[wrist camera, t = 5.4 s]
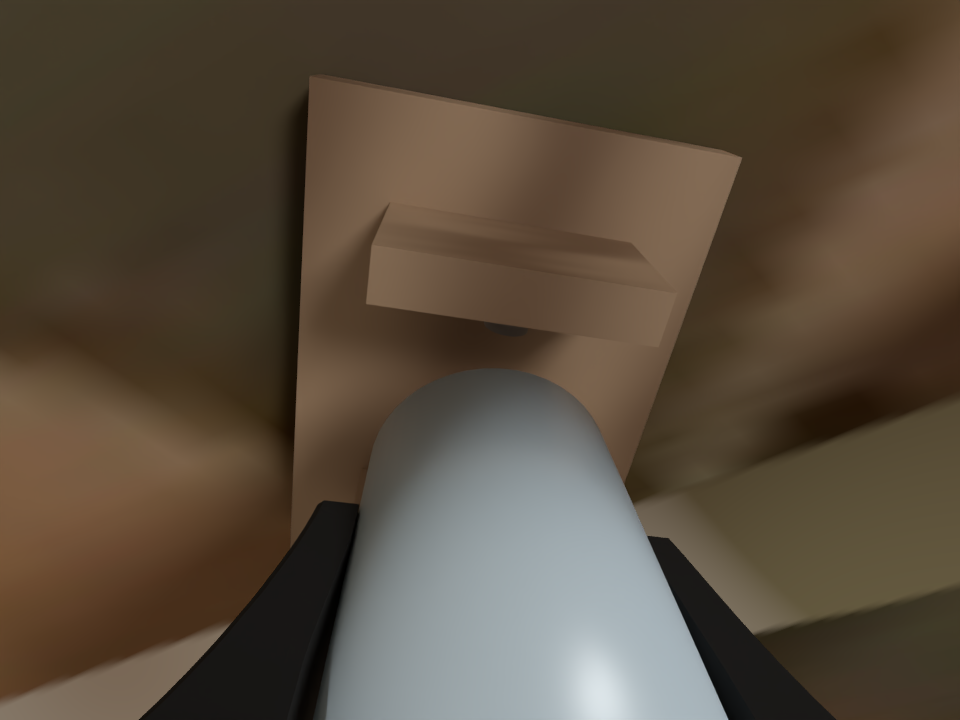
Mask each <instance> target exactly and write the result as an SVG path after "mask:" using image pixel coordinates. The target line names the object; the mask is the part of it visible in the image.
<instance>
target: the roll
mask: <svg viewBox="0 0 960 720" xmlns="http://www.w3.org/2000/svg"><path fill="white" fill-rule="evenodd" d="M313 720H728V718H727V716H726V713H725V711H724V709H723V706H722V704H721V702H720V700H719V697H718V695H717V693H716V691H715V688H714V686H713V684H712V682H711V679H710V677H709V675H708V673H707V670H706V668H705V666H704V664H703V661H702V659H701V657H700V655H699V652H698V650H697V648H696V646H695V643H694V641H693V639H692V637H691V634H690V632H689V630H688V628H687V625H686V623H685V621H684V619H683V616H682V614H681V612H680V610H679V607H678V605H677V603H676V601H675V598H674V596H673V594H672V592H671V589H670V587H669V585H668V583H667V580H666V578H665V576H664V574H663V571H662V569H661V567H660V565H659V562H658V560H657V558H656V556H655V553H654V551H653V549H652V547H651V544H650V542H649V540H648V538H647V535H646V534H645V531H644V529H643V527H642V524H641V522H640V520H639V518H638V515H637V513H636V511H635V508H634V506H633V504H632V502H631V499H630V497H629V495H628V493H627V490H626V488H625V486H624V484H623V481H622V479H621V477H620V475H619V472H618V470H617V468H616V466H615V463H614V461H613V459H612V457H611V454H610V452H609V450H608V448H607V445H606V443H605V441H604V438H603V436H602V434H601V432H600V429H599V428H598V426H597V424H596V422H595V420H594V419H593V417H592V416H591V414H590V413H589V412H588V410H587V409H586V408H585V407H584V405H583V404H581V403H580V402H579V401H578V400H577V399H576V398H575V397H574V396H573V395H572V394H570V393H569V392H567V391H566V390H565V389H563V388H562V387H560V386H558V385H557V384H555V383H553V382H551V381H549V380H547V379H544V378H542V377H539V376H536V375H534V374H530V373H526V372H522V371H518V370H510V369H501V368H483V369H475V370H467V371H463V372H459V373H455V374H451V375H448V376H445V377H443V378H440V379H437V380H435V381H433V382H431V383H429V384H427V385H425V386H423V387H422V388H420V389H418V390H417V391H416V392H414V393H413V394H411V395H410V396H408V397H407V398H406V399H405V400H404V401H403V402H402V403H401V404H399V405H398V406H397V407H396V408H395V409H394V411H393V412H392V413H391V414H390V416H389V417H388V418H387V419H386V421H385V422H384V424H383V426H382V427H381V429H380V431H379V433H378V435H377V438H376V440H375V442H374V445H373V449H372V453H371V457H370V461H369V466H368V471H367V475H366V480H365V484H364V489H363V493H362V498H361V502H360V507H359V512H358V518H357V522H356V527H355V531H354V536H353V541H352V545H351V550H350V554H349V559H348V563H347V567H346V572H345V576H344V580H343V585H342V589H341V594H340V598H339V603H338V608H337V612H336V617H335V621H334V626H333V630H332V635H331V639H330V644H329V649H328V653H327V658H326V662H325V667H324V671H323V676H322V681H321V685H320V690H319V694H318V699H317V703H316V708H315V713H314V717H313Z"/></svg>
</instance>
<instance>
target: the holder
mask: <svg viewBox="0 0 960 720" xmlns="http://www.w3.org/2000/svg"><path fill="white" fill-rule="evenodd" d="M741 159H742V157H739V156H736V155H734V154H731V153H728V152H726V151H723V150H719V149H713V148H708V147H703V146H698V145H692V144H687V143H682V142H677V141H671V140H666V139H661V138H655V137H650V136H645V135H640V134H634V133H629V132H624V131H618V130H613V129H608V128H603V127H597V126H592V125H587V124H582V123H576V122H571V121H566V120H560V119H555V118H550V117H545V116H539V115H534V114H529V113H523V112H518V111H513V110H508V109H502V108H497V107H492V106H487V105H481V104H476V103H471V102H465V101H460V100H455V99H450V98H444V97H439V96H434V95H428V94H423V93H418V92H413V91H407V90H402V89H397V88H392V87H386V86H381V85H376V84H370V83H365V82H360V81H355V80H349V79H344V78H339V77H334V76H328V75H323V74H319V75H313V76H310V81H309V105H308V129H307V153H306V177H305V201H304V225H303V249H302V273H301V297H300V321H299V345H298V369H297V393H296V418H295V442H294V466H293V490H292V514H291V538H290V548H291V547H292V545H293V544H294V542H295V541H296V539H297V538H298V536H299V535H300V533H301V532H302V530H303V529H304V527H305V526H306V524H307V522H308V521H309V519H310V517H311V515H312V514H313V512H314V510H315V508H316V506H317V505H318V504H319V503H321V502H322V501H324V500H327V501H336V502H345V503H354V504H359V507H360V502H361V498H362V493H363V489H364V484H365V480H366V475H367V471H368V466H369V461H370V457H371V453H372V449H373V445H374V442H375V440H376V438H377V435H378V433H379V431H380V429H381V427H382V426H383V424H384V422H385V421H386V419H387V418H388V417H389V416H390V414H391V413H392V412H393V411H394V409H395V408H396V407H397V406H398V405H399V404H401V403H402V402H403V401H404V400H405V399H406V398H407V397H408V396H410V395H411V394H413V393H414V392H416V391H417V390H418V389H420V388H422V387H423V386H425V385H427V384H429V383H431V382H433V381H435V380H437V379H440V378H443V377H445V376H448V375H451V374H455V373H459V372H463V371H467V370H475V369H483V368H501V369H510V370H518V371H522V372H526V373H530V374H534V375H536V376H539V377H542V378H544V379H547V380H549V381H551V382H553V383H555V384H557V385H558V386H560V387H562V388H563V389H565V390H566V391H567V392H569V393H570V394H572V395H573V396H574V397H575V398H576V399H577V400H578V401H579V402H580V403H581V404H583V405H584V407H585V408H586V409H587V410H588V412H589V413H590V414H591V416H592V417H593V419H594V420H595V422H596V424H597V426H598V428H599V429H600V432H601V434H602V436H603V438H604V441H605V443H606V445H607V448H608V450H609V452H610V454H611V457H612V459H613V461H614V463H615V466H616V468H617V470H618V472H619V475H620V477H621V479H622V481H623V484H624V483H625V480H626V477H627V474H628V472H629V469H630V466H631V463H632V461H633V458H634V455H635V452H636V450H637V447H638V444H639V441H640V438H641V436H642V433H643V430H644V427H645V425H646V422H647V419H648V416H649V414H650V411H651V408H652V405H653V403H654V400H655V397H656V394H657V392H658V389H659V386H660V383H661V380H662V378H663V375H664V372H665V369H666V367H667V364H668V361H669V358H670V356H671V353H672V350H673V347H674V345H675V342H676V339H677V336H678V333H679V331H680V328H681V325H682V322H683V320H684V317H685V314H686V311H687V309H688V306H689V303H690V300H691V298H692V295H693V292H694V289H695V287H696V284H697V281H698V278H699V275H700V273H701V270H702V267H703V264H704V262H705V259H706V256H707V253H708V251H709V248H710V245H711V242H712V240H713V237H714V234H715V231H716V229H717V226H718V223H719V220H720V217H721V215H722V212H723V209H724V206H725V204H726V201H727V198H728V195H729V193H730V190H731V187H732V184H733V182H734V179H735V176H736V173H737V170H738V168H739V165H740V162H741Z"/></svg>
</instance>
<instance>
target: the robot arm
mask: <svg viewBox="0 0 960 720" xmlns="http://www.w3.org/2000/svg"><path fill="white" fill-rule="evenodd" d="M358 512H359V504H354V503H345V502H336V501H327V500H324V501H322V502H321V503H319V504H318V505H317V506H316V508H315V510H314V512H313V514H312V515H311V517H310V519H309V521H308V522H307V524H306V526H305V527H304V529H303V530H302V532H301V533H300V535H299V536H298V538H297V539H296V541H295V542H294V544H293V545H292V547H291V548H290V550H289V551H288V552H287V554H286V555H285V557H284V558H283V559H282V561H281V562H280V563H279V565H278V566H277V567H276V569H275V570H274V571H273V573H272V574H271V575H270V577H269V578H268V579H267V580H266V582H265V583H264V584H263V586H262V587H261V588H260V590H259V591H258V592H257V593H256V595H255V596H254V597H253V598H252V600H251V601H250V602H249V603H248V604H247V606H246V607H245V608H244V609H243V610H242V611H241V613H240V614H239V615H238V616H237V617H236V618H235V620H234V621H233V622H232V623H231V624H230V625H229V627H228V628H227V629H226V630H225V631H224V632H223V634H222V635H221V636H220V637H219V638H218V639H217V641H216V642H215V643H214V644H213V645H212V646H211V647H210V648H209V649H208V651H207V652H206V653H205V654H204V655H203V656H202V657H201V658H200V659H199V660H198V661H197V662H196V663H195V665H194V666H193V667H192V668H191V669H190V670H189V671H188V672H187V673H186V674H185V675H184V676H183V677H182V678H181V679H180V680H179V681H178V682H177V683H176V684H175V685H174V686H173V687H172V688H171V689H170V690H169V691H168V692H167V693H166V694H165V695H164V696H163V697H162V698H161V699H160V700H159V701H158V702H157V703H156V704H155V705H154V706H153V707H152V708H151V709H150V710H148V711H147V713H145V714H144V715H143V716H142V717H141V718H140V719H139V720H313V717H314V713H315V708H316V703H317V699H318V694H319V690H320V685H321V681H322V676H323V671H324V667H325V662H326V658H327V653H328V649H329V644H330V639H331V635H332V630H333V626H334V621H335V617H336V612H337V608H338V603H339V598H340V594H341V589H342V585H343V580H344V576H345V572H346V567H347V563H348V559H349V554H350V550H351V545H352V541H353V536H354V531H355V527H356V522H357V518H358ZM647 538H648V540H649V542H650V544H651V547H652V549H653V551H654V553H655V556H656V558H657V560H658V562H659V565H660V567H661V569H662V571H663V574H664V576H665V578H666V580H667V583H668V585H669V587H670V589H671V592H672V594H673V596H674V598H675V601H676V603H677V605H678V607H679V610H680V612H681V614H682V616H683V619H684V621H685V623H686V625H687V628H688V630H689V632H690V634H691V637H692V639H693V641H694V643H695V646H696V648H697V650H698V652H699V655H700V657H701V659H702V661H703V664H704V666H705V668H706V670H707V673H708V675H709V677H710V679H711V682H712V684H713V686H714V688H715V691H716V693H717V695H718V697H719V700H720V702H721V704H722V706H723V709H724V711H725V713H726V716H727V718H728V720H836V719H835V718H834V717H833V716H832V715H831V714H830V713H829V712H828V711H827V710H826V709H825V708H824V707H823V706H822V705H821V704H820V703H819V702H817V701H816V700H815V699H814V698H813V697H812V696H811V695H810V694H809V693H808V692H807V690H806V689H805V688H804V687H803V686H802V685H801V684H800V683H799V682H798V681H797V680H796V679H795V678H794V677H793V676H792V675H791V674H790V673H789V672H788V671H787V670H786V669H785V668H784V667H783V666H782V665H781V664H780V663H779V662H778V661H777V660H776V659H775V658H774V657H773V655H772V654H771V653H770V652H769V651H768V650H767V649H766V648H765V647H764V646H763V645H762V644H761V643H760V641H759V640H758V639H757V638H756V637H755V636H754V635H753V634H752V633H751V632H750V631H749V629H748V628H747V627H746V626H745V625H744V624H743V623H742V622H741V621H740V619H739V618H738V617H737V616H736V615H735V614H734V613H733V612H732V610H731V609H730V608H729V607H728V606H727V605H726V603H725V602H724V601H723V600H722V599H721V598H720V597H719V595H718V594H717V593H716V592H715V591H714V590H713V588H712V587H711V586H710V585H709V584H708V583H707V582H706V580H705V579H704V578H703V577H702V576H701V575H700V573H699V572H698V571H697V570H696V569H695V568H694V566H693V565H692V564H691V563H690V562H689V561H688V560H687V558H686V557H685V556H684V555H683V554H682V553H681V552H680V550H679V549H678V548H677V547H676V546H675V545H674V544H673V543H672V542H671V541H670V540H669V538H661V537H652V536H647Z"/></svg>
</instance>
